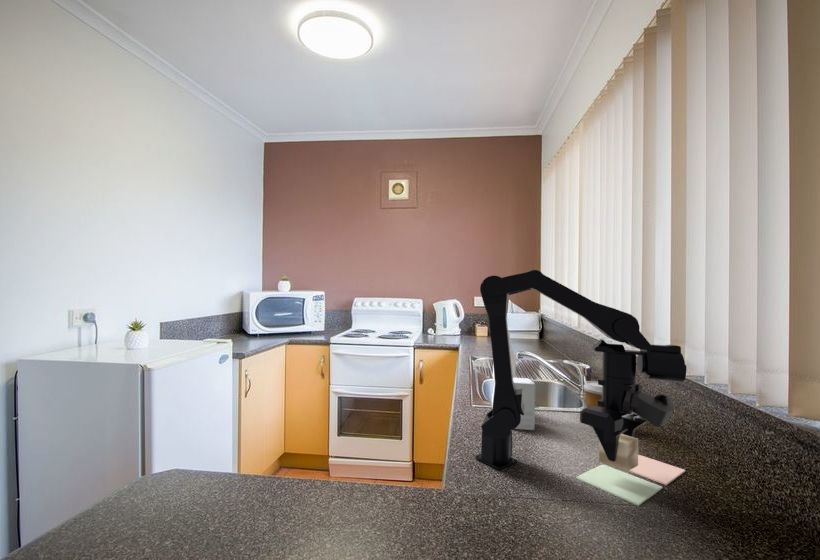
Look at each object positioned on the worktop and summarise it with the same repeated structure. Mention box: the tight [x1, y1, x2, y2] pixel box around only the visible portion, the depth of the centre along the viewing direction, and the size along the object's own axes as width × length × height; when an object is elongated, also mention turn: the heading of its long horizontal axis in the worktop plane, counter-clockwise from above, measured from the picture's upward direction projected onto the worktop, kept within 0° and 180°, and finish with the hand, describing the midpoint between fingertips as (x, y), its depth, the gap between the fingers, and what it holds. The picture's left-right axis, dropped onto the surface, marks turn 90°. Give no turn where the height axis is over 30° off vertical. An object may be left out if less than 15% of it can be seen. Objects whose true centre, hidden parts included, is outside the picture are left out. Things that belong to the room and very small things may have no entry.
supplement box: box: [513, 377, 536, 431], centre depth 100 cm, size 7×7×13 cm
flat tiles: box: [575, 454, 686, 507], centre depth 72 cm, size 24×11×1 cm, turn 127°
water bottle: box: [491, 331, 517, 409], centre depth 112 cm, size 7×7×25 cm
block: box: [598, 434, 639, 473], centre depth 69 cm, size 5×5×5 cm
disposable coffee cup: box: [582, 380, 605, 408], centre depth 102 cm, size 10×10×12 cm
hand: (618, 457), depth 69 cm, fingers closed on block, 5 cm apart
